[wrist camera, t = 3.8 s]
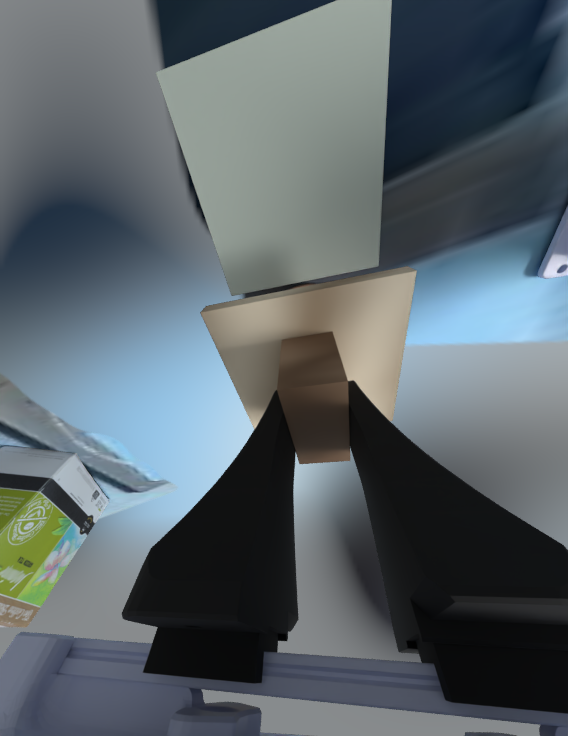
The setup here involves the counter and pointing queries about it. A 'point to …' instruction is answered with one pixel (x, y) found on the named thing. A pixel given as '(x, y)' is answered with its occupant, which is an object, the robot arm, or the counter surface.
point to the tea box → (40, 525)
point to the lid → (317, 353)
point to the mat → (289, 143)
